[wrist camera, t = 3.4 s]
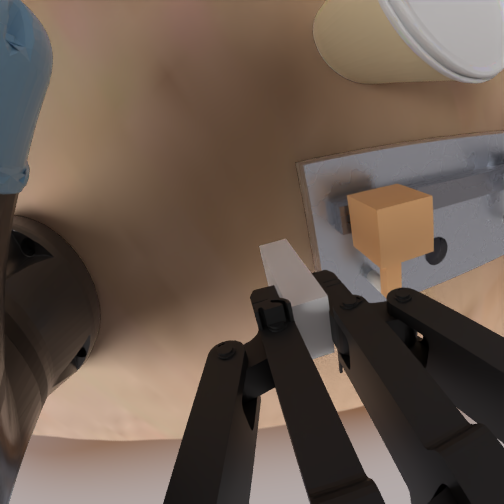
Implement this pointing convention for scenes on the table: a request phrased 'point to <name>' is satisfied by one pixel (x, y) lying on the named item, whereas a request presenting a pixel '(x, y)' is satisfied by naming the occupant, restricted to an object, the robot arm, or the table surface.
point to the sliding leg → (391, 230)
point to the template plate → (402, 168)
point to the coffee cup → (411, 39)
